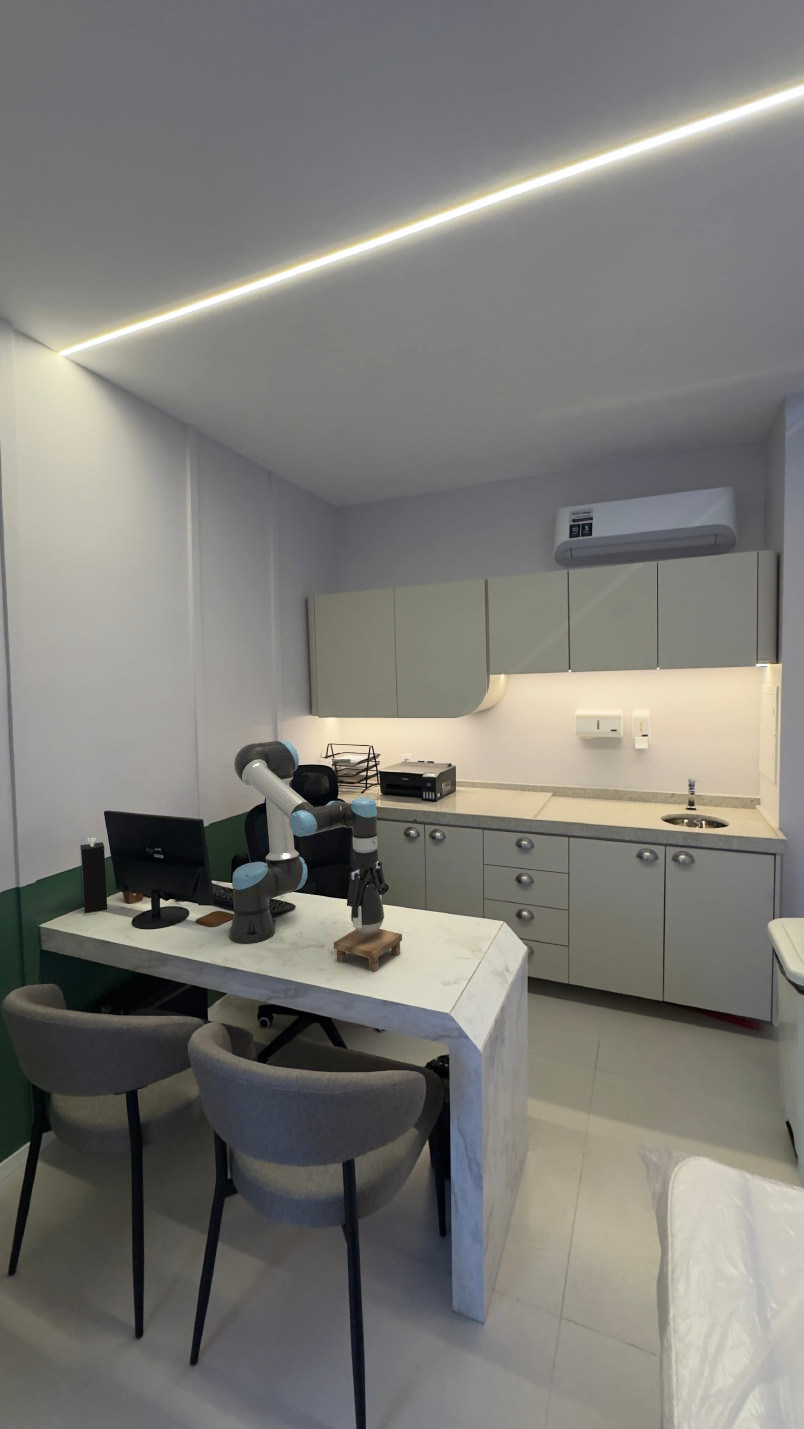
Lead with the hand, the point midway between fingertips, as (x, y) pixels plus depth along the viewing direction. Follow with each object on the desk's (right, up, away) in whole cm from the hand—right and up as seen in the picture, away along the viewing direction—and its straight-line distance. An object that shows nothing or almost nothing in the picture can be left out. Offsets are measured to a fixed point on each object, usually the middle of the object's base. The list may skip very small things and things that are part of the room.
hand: (367, 921), depth 186 cm
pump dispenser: (0, -3, 0) cm, 3 cm away
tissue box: (-109, -12, +49) cm, 120 cm away
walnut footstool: (0, -11, +1) cm, 11 cm away
